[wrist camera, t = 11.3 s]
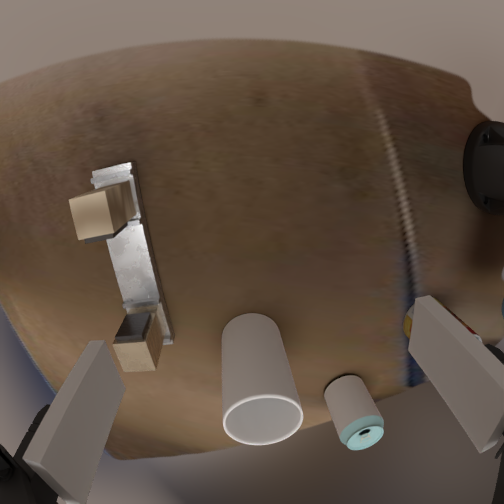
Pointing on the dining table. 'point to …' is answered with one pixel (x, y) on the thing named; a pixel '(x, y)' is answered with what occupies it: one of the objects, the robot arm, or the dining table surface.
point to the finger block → (103, 212)
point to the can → (354, 412)
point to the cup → (257, 382)
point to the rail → (136, 282)
